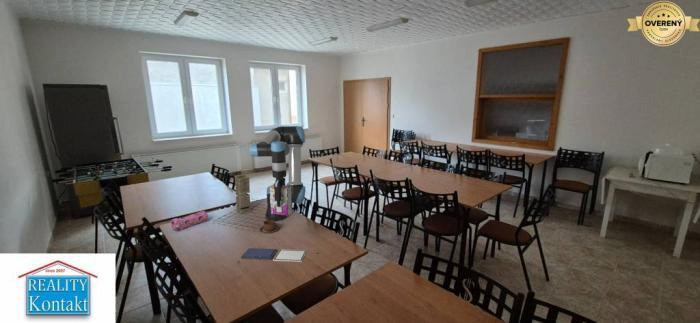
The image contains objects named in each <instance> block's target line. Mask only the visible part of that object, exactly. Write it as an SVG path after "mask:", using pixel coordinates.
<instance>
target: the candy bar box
mask: <svg viewBox="0 0 700 323" xmlns="http://www.w3.org/2000/svg"><path fill="white" fill-rule="evenodd" d="M268 187H270V211H271V214H275V215H285V216H287V217H289V216H290V215H291V214H293V208H292V204H293V203H291V186H287V184H285V185H282V188H281V200H282V212H277V204H276V201H275V192H274V184H271V185H270V186H268Z"/></svg>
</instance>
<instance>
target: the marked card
mask: <svg viewBox="0 0 700 323" xmlns="http://www.w3.org/2000/svg"><path fill="white" fill-rule="evenodd" d="M306 253H307V249H282V248H280V249H279V251H278V252H276V255H275V256H274V258H272V259H273V260H272V261H273V262H293V263H294V262H297V263H302V262H303V260H304V258H305V255H306Z"/></svg>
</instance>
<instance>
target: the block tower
mask: <svg viewBox="0 0 700 323" xmlns="http://www.w3.org/2000/svg"><path fill="white" fill-rule="evenodd" d="M234 184H235V185H234V186H235V195H236V196H235V205H236V212H237V213H239V214H240V215H241V214H247V213H249V212H251V209H252V208H251V207H250V206H251V195H250V194H249V193H251V191H250V188H251V187H250V186H251V185H250V176H249V177H248V176H247V175H246V174H244V173H242V174H237V175H236V174H235V175H234Z"/></svg>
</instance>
